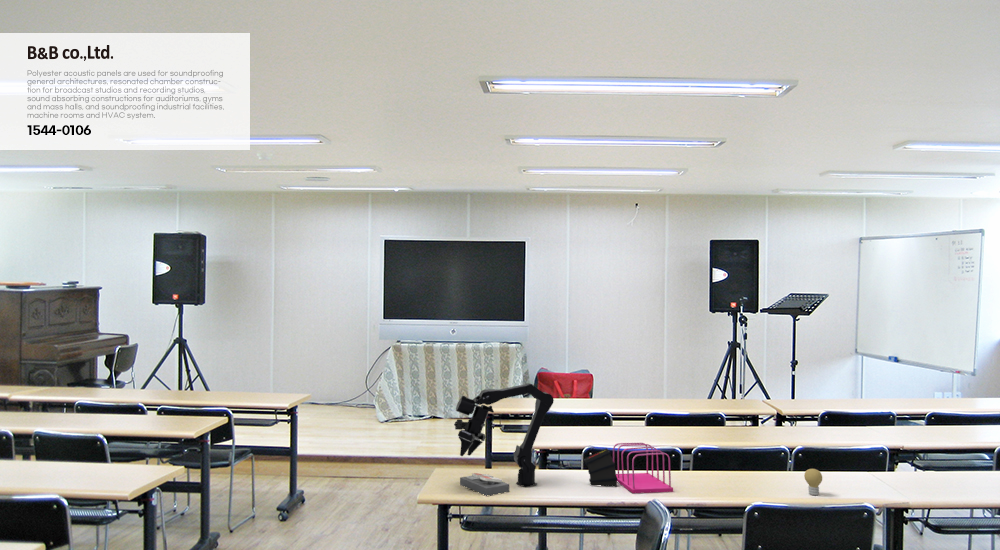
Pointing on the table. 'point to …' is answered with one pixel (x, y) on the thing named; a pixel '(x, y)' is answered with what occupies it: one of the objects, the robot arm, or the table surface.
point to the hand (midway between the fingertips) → (464, 455)
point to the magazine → (601, 469)
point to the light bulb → (813, 480)
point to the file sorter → (642, 480)
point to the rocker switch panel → (484, 485)
